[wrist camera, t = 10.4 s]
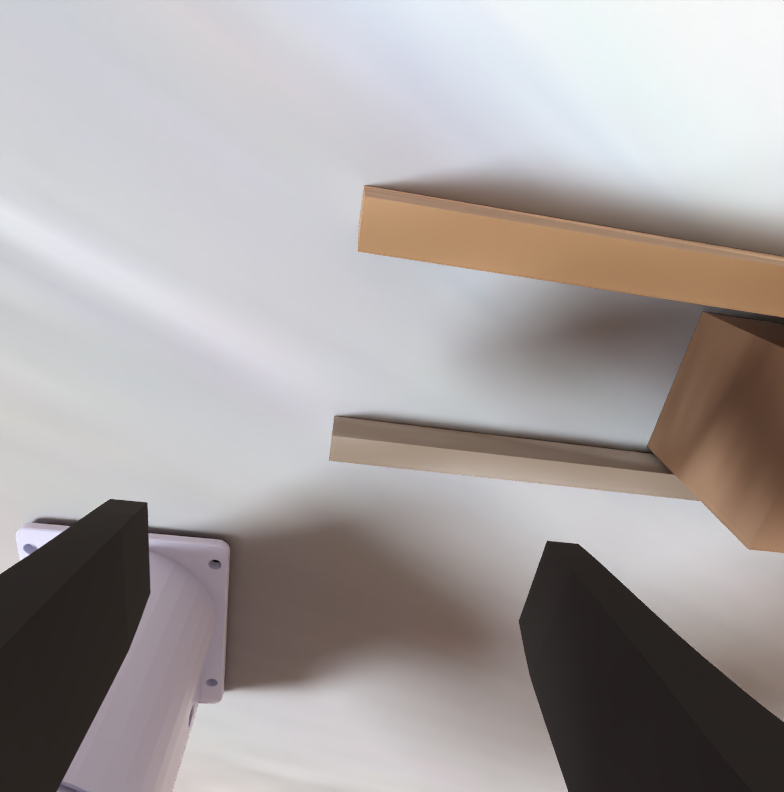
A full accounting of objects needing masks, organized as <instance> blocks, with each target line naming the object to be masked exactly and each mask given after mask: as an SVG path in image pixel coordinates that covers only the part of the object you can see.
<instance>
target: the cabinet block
mask: <svg viewBox="0 0 784 792" xmlns="http://www.w3.org/2000/svg"><path fill="white" fill-rule="evenodd" d="M647 447H648V448H649V449H650V450H651V451H652V452H653V453H654V454H655V455H656V456H657V457H658V458H659V459H660V460H661V461H662V462H663V463H664V464H665V465H666V466H667V467H668V468H669V469H670V470H671V471H672V472H673V473H674V474H675V476H676V477H677V478H678V479H679V480H680V481H681V482H682V483H683V484H684V485H685V486H686V487H687V488H688V489H689V490H690V491H691V492H692V493H693V494H694V495H695V496H696V497H697V498H698V499H699V500H700V501H701V502H702V503H703V504H704V505H705V506H706V507H707V508H708V509H709V510H710V511H711V512H712V513H713V514H714V515H715V516H716V517H717V518H718V519H719V520H720V521H721V522H722V523H723V524H724V525H725V526H726V527H727V528H728V529H729V530H730V531H731V532H732V533H733V534H734V535H735V536H736V537H737V538H738V539H739V540H740V541H741V542H742V543H743V544H744V545H745V546H746V547H747V549H750V550H760V551H770V552H780V553H784V324H778V323H772V322H765V321H759V320H752V319H746V318H740V317H733V316H727V315H720V314H714V313H707V312H702V314H701V317H700V319H699V321H698V324H697V326H696V329H695V331H694V334H693V336H692V338H691V341H690V343H689V346H688V348H687V351H686V353H685V355H684V358H683V360H682V363H681V365H680V367H679V370H678V372H677V375H676V377H675V380H674V382H673V384H672V387H671V389H670V392H669V394H668V397H667V399H666V401H665V404H664V406H663V409H662V411H661V414H660V416H659V418H658V421H657V423H656V426H655V428H654V431H653V433H652V435H651V438H650V440H649V443H648V445H647Z"/></svg>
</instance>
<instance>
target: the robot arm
mask: <svg viewBox="0 0 784 792" xmlns="http://www.w3.org/2000/svg"><path fill="white" fill-rule="evenodd" d="M16 541H17V547H18V553H19V559H20V561H19V562H18V563H16V564H15V565H13V566H12V567H10V568H9V569H7V570H6V571H4V572H3V573H1V574H0V792H172V790H173V787H174V784H175V780H176V777H177V774H178V770H179V767H180V764H181V760H182V757H183V754H184V750H185V747H186V744H187V740H188V737H189V734H190V730H191V727H192V724H193V720H194V717H195V714H196V710H197V707H198V704H199V703H205V704H215V703H218V702H220V701H221V700H222V697H223V693H224V679H225V656H226V633H227V610H228V586H229V563H230V548H229V545H228V544H227V543H226V542H224V541H222V540H218V539H208V538H197V537H186V536H175V535H164V534H152V533H148V508H147V503H146V502H135V501H125V500H114V499H110V500H108V501H107V502H105V503H104V504H102V505H101V506H99V507H98V508H96V509H95V510H93V511H92V512H90V513H89V514H88V515H86V516H85V517H83V518H82V519H80V520H79V521H77V522H76V523H75V524H73V525H72V526H63V525H52V524H41V523H27V524H24V525H23V526H22V527H21V528H20V529H19V530H18V531H17V533H16ZM31 544H33V545H34V546H36V547H33V546H32V545H31ZM212 560H219V561H220V562H221V563H216V562H213V561H212ZM519 624H520V629H521V635H522V640H523V645H524V651H525V655H526V660H527V664H528V669H529V673H530V677H531V681H532V684H533V687H534V690H535V693H536V696H537V699H538V702H539V705H540V708H541V711H542V714H543V717H544V720H545V724H546V726H547V729H548V732H549V735H550V738H551V741H552V744H553V747H554V750H555V753H556V756H557V759H558V762H559V765H560V768H561V771H562V774H563V777H564V780H565V783H566V786H567V789H568V792H784V722H783V721H781V720H780V719H779V718H777V717H776V716H775V715H773V714H772V713H771V712H770V711H768V710H767V709H766V708H764V707H763V706H762V705H761V704H759V703H758V702H757V701H756V700H754V699H753V698H752V697H751V696H749V695H748V694H747V693H746V692H744V691H743V690H742V689H741V688H740V687H738V686H737V685H736V684H735V683H734V682H732V681H731V680H730V679H729V678H728V677H726V676H725V675H724V674H723V673H722V672H721V671H719V670H718V669H717V668H716V667H715V666H713V665H712V664H711V663H710V662H709V661H707V660H706V659H705V658H704V657H703V656H702V655H700V654H699V653H698V652H697V651H696V650H695V649H694V648H692V647H691V646H690V645H689V644H688V643H687V642H686V641H684V640H683V639H682V638H681V637H680V636H679V635H678V634H677V633H676V632H674V631H673V630H672V629H671V628H670V627H669V626H668V625H667V624H666V623H664V622H663V621H662V620H661V619H660V618H659V617H658V616H657V615H656V614H655V613H654V612H652V611H651V610H650V609H649V608H648V607H647V606H646V605H645V604H644V603H643V602H642V601H641V600H639V599H638V598H637V597H636V596H635V595H634V594H633V593H632V592H631V591H630V590H629V589H628V588H627V587H625V586H624V585H623V584H622V583H621V582H620V581H619V580H618V579H617V578H616V577H615V576H614V575H613V574H612V573H610V572H609V571H608V570H607V569H606V568H605V567H604V566H603V565H602V564H601V563H600V562H598V561H597V560H596V559H595V558H594V557H593V556H592V555H591V554H589V553H588V552H587V551H586V550H585V549H583V548H582V547H581V546H580V545H579V544H573V543H563V542H552V541H547V543H546V545H545V548H544V551H543V554H542V557H541V560H540V562H539V565H538V568H537V571H536V574H535V577H534V580H533V582H532V585H531V588H530V591H529V594H528V597H527V599H526V602H525V605H524V608H523V611H522V614H521V617H520V619H519Z"/></svg>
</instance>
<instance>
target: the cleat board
mask: <svg viewBox="0 0 784 792" xmlns="http://www.w3.org/2000/svg"><path fill="white" fill-rule="evenodd" d="M358 251H359V252H365V253H371V254H378V255H384V256H391V257H397V258H404V259H410V260H417V261H423V262H429V263H436V264H442V265H449V266H455V267H462V268H468V269H475V270H481V271H487V272H494V273H500V274H507V275H513V276H520V277H526V278H533V279H539V280H545V281H552V282H558V283H565V284H571V285H578V286H584V287H591V288H597V289H604V290H610V291H616V292H623V293H629V294H636V295H642V296H649V297H655V298H662V299H668V300H674V301H681V302H687V303H694V304H700V305H707V306H713V307H720V308H726V309H732V310H739V311H745V312H752V313H758V314H765V315H771V316H778V317H784V257H783V256H777V255H771V254H765V253H759V252H753V251H748V250H742V249H736V248H730V247H724V246H718V245H712V244H706V243H700V242H695V241H689V240H683V239H677V238H671V237H665V236H659V235H653V234H647V233H642V232H636V231H630V230H624V229H618V228H612V227H606V226H600V225H594V224H589V223H583V222H577V221H571V220H565V219H559V218H553V217H547V216H541V215H536V214H530V213H524V212H518V211H512V210H506V209H500V208H494V207H488V206H482V205H477V204H471V203H465V202H459V201H453V200H447V199H441V198H435V197H429V196H424V195H418V194H412V193H406V192H400V191H394V190H388V189H382V188H376V187H371V186H365V185H364V190H363V198H362V205H361V213H360V221H359V235H358ZM329 461H337V462H347V463H356V464H365V465H374V466H383V467H393V468H402V469H411V470H420V471H429V472H439V473H448V474H457V475H466V476H475V477H485V478H494V479H503V480H512V481H521V482H530V483H540V484H549V485H558V486H567V487H576V488H586V489H595V490H604V491H613V492H622V493H632V494H641V495H650V496H659V497H668V498H678V499H687V500H696V501H700V500H699V499H698V498H697V497H696V496H695V495H694V494H693V493H692V492H691V491H690V490H689V489H688V488H687V487H686V486H685V485H684V484H683V483H682V482H681V481H680V480H679V479H678V478H677V477H676V476H675V474H674V473H673V472H672V471H671V470H670V469H669V468H668V467H667V466H666V465H665V464H664V463H663V462H662V461H661V460H660V459H659V458H658V457H657V456H656V455H655V454H650V453H641V452H633V451H625V450H616V449H608V448H599V447H591V446H582V445H574V444H566V443H557V442H549V441H540V440H532V439H523V438H515V437H507V436H498V435H490V434H481V433H473V432H464V431H456V430H447V429H439V428H431V427H422V426H414V425H405V424H397V423H388V422H380V421H372V420H363V419H355V418H346V417H338V416H334V423H333V431H332V439H331V448H330V457H329Z"/></svg>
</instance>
